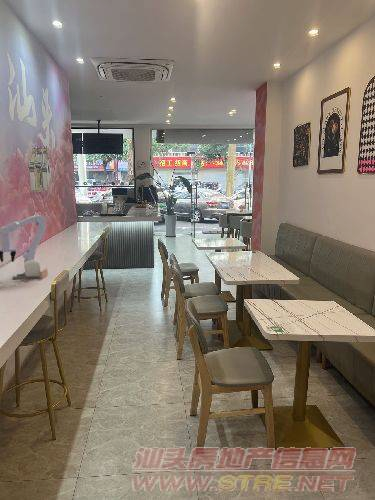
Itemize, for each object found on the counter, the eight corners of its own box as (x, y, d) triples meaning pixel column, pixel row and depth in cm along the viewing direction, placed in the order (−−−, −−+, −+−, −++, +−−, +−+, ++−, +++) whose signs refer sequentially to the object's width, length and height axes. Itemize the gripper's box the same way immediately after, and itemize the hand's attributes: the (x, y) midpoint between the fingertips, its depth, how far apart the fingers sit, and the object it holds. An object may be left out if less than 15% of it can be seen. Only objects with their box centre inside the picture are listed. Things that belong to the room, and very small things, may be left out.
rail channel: (18, 275, 284) (17, 269, 283) (47, 275, 284) (47, 268, 283) (12, 279, 274) (11, 272, 273) (42, 278, 274) (42, 271, 273)
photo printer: (25, 278, 276) (23, 261, 274) (26, 276, 280) (24, 260, 278) (40, 277, 278) (38, 260, 276) (41, 275, 283) (39, 259, 280)
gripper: (-7, 244, 277) (-6, 262, 280) (13, 243, 277) (15, 262, 280) (-3, 242, 284) (-1, 260, 287) (17, 242, 284) (19, 260, 287)
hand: (7, 261), depth 284 cm, fingers open, 7 cm apart
